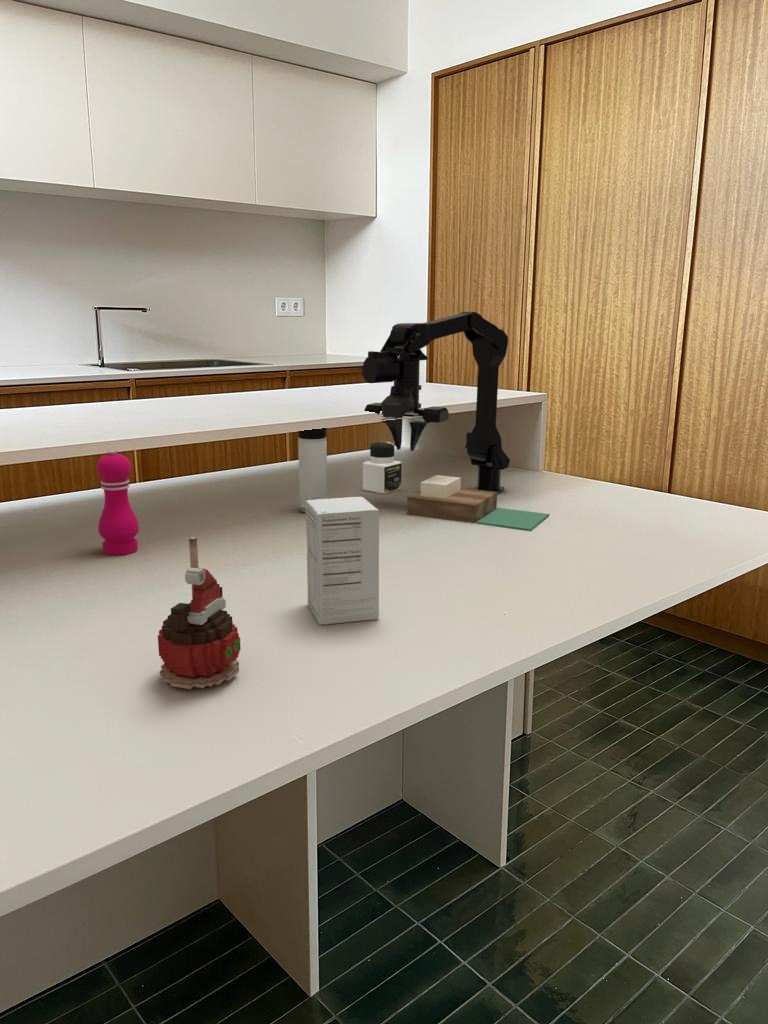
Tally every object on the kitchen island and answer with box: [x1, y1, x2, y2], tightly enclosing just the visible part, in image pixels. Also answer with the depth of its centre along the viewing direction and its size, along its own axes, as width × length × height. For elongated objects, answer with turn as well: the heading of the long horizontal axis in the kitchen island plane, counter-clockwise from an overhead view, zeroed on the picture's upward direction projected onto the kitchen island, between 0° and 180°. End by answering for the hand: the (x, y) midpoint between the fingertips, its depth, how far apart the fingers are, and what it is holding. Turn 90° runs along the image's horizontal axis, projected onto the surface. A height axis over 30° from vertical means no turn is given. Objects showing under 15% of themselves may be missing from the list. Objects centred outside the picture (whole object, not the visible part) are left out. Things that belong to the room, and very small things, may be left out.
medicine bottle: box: [362, 441, 403, 495], centre depth 199 cm, size 7×7×12 cm
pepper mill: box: [96, 451, 140, 556], centre depth 147 cm, size 7×7×20 cm
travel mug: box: [297, 427, 328, 514], centre depth 177 cm, size 6×7×20 cm
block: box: [420, 474, 462, 499], centre depth 179 cm, size 9×6×3 cm, turn 153°
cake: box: [157, 536, 242, 690], centre depth 97 cm, size 11×9×18 cm
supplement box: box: [305, 496, 380, 626], centre depth 119 cm, size 10×9×17 cm
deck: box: [406, 487, 498, 524], centre depth 179 cm, size 14×16×4 cm
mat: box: [475, 507, 550, 532], centre depth 173 cm, size 14×12×1 cm
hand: (405, 450), depth 181 cm, fingers open, 3 cm apart
